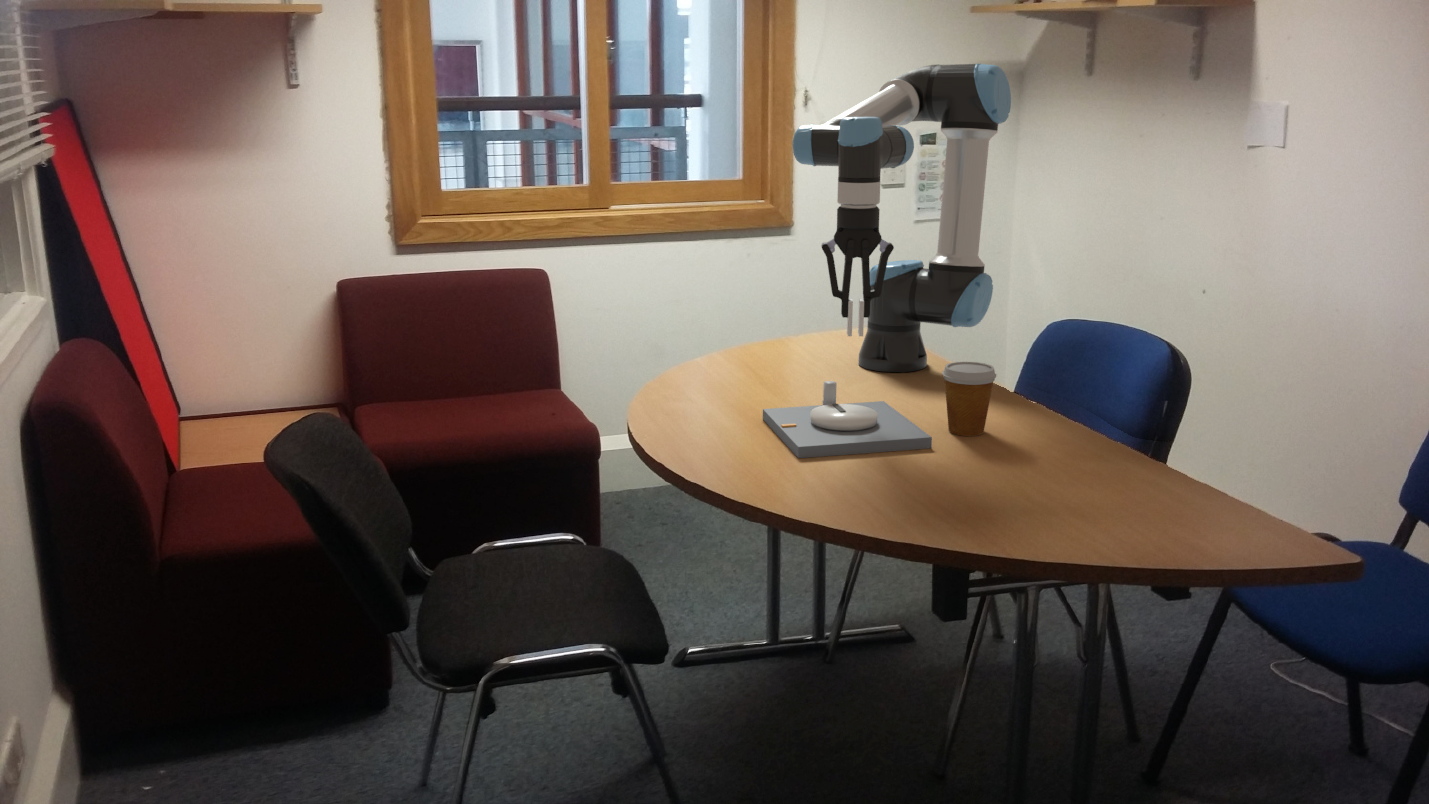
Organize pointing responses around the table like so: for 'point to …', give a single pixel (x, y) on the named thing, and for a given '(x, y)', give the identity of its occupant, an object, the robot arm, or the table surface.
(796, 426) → the panel
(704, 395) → the table surface
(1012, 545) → the table surface
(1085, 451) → the table surface
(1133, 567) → the table surface
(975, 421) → the disposable coffee cup
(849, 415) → the dial
